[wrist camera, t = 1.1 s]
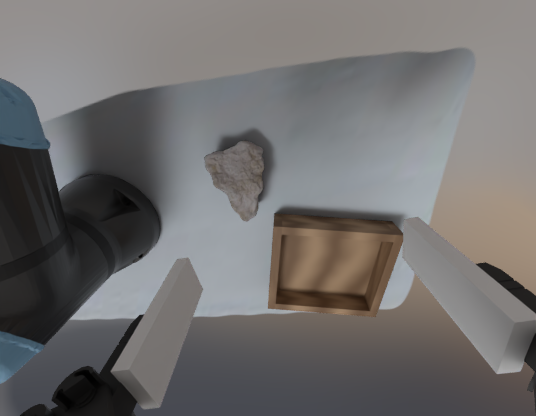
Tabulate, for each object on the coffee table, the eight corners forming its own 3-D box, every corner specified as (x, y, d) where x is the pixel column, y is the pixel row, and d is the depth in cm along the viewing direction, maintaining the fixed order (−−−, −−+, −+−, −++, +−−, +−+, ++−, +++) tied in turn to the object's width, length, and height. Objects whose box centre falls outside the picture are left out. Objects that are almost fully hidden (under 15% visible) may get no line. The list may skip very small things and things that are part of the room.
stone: (282, 197, 34) (282, 214, 29) (233, 212, 36) (224, 231, 31) (258, 132, 30) (254, 139, 25) (205, 152, 32) (189, 162, 27)
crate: (269, 290, 42) (267, 308, 39) (274, 213, 35) (273, 226, 32) (367, 298, 42) (375, 317, 38) (392, 221, 35) (405, 235, 31)
